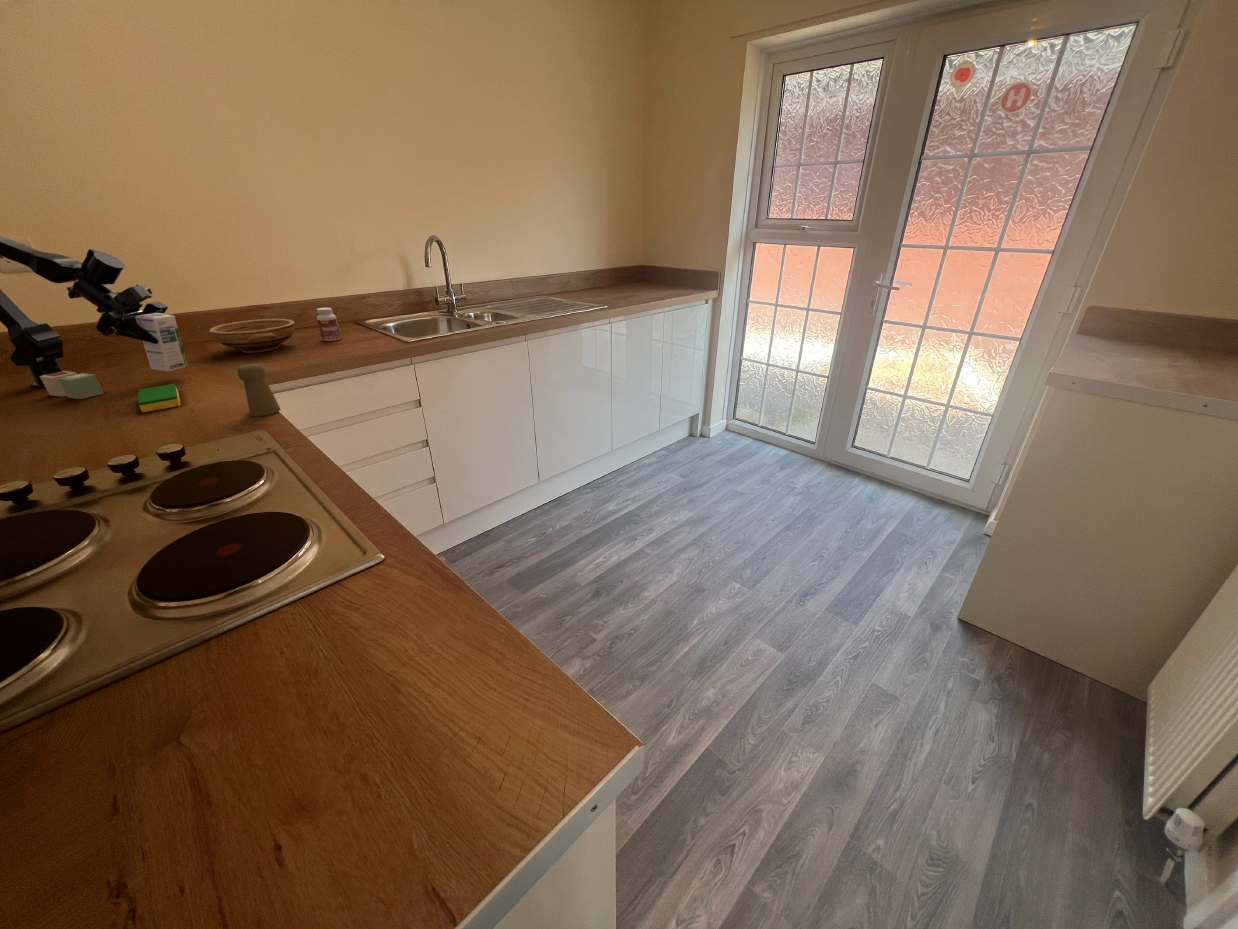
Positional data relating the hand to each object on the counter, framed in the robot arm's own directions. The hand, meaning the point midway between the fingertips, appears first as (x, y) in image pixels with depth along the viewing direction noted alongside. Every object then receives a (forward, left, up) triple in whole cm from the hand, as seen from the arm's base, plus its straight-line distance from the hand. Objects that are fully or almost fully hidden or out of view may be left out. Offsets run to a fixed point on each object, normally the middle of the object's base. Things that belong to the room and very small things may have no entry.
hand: (166, 339), depth 136 cm
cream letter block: (-17, -17, -11) cm, 26 cm away
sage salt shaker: (+47, -13, -11) cm, 50 cm away
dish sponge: (+16, -15, -11) cm, 25 cm away
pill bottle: (+1, +52, -11) cm, 53 cm away
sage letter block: (-9, -17, -11) cm, 23 cm away
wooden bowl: (-12, +34, -11) cm, 37 cm away
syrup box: (-2, -1, -8) cm, 8 cm away
